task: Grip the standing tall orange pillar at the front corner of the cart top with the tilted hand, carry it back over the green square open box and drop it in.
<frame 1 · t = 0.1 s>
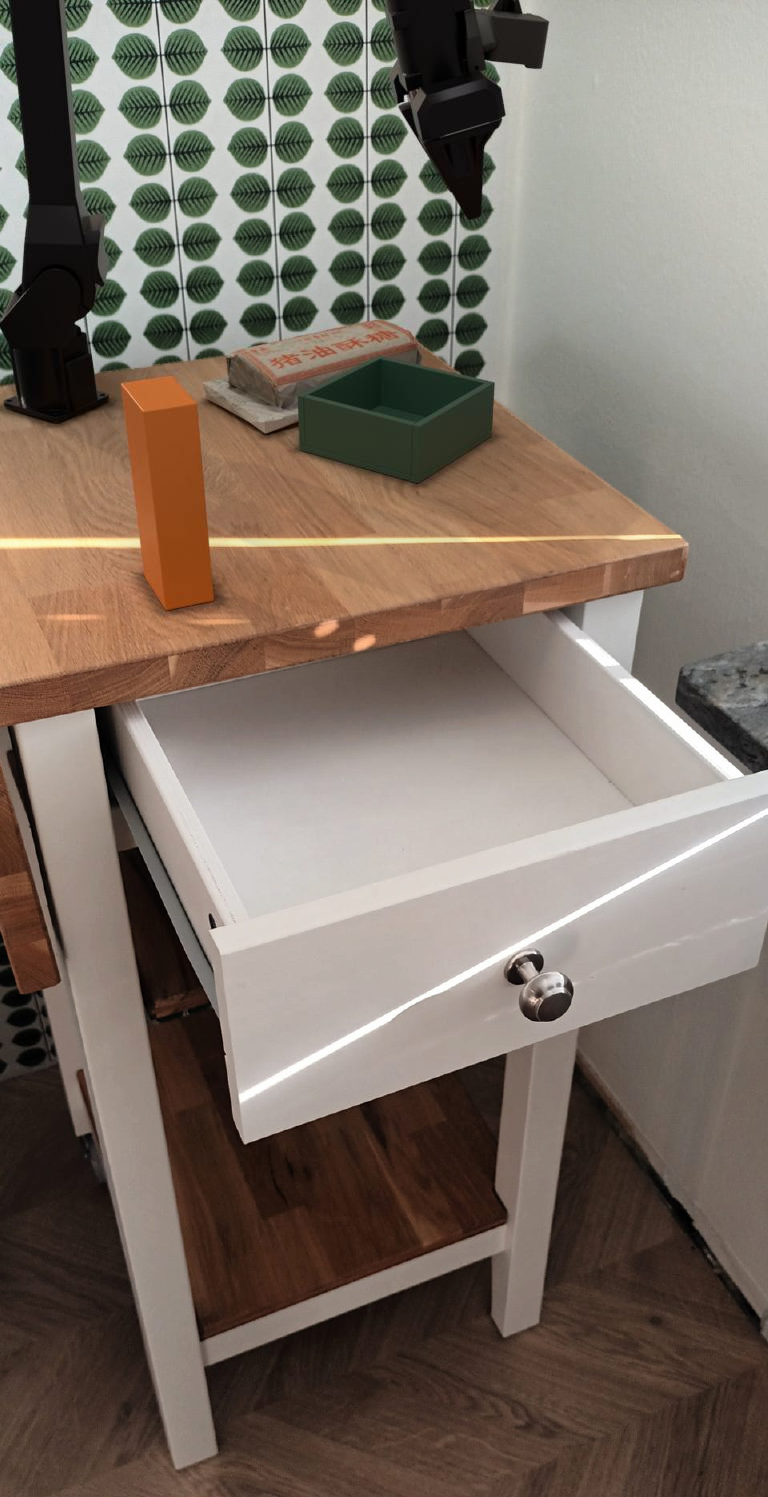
hand: (465, 204, 100), 15 cm above the table, tool pointing down, fingers open, 9 cm apart
green square open box: (396, 443, 100), on the table
packaged product: (321, 398, 109), on the table
tall orange pillar: (178, 588, 81), on the table
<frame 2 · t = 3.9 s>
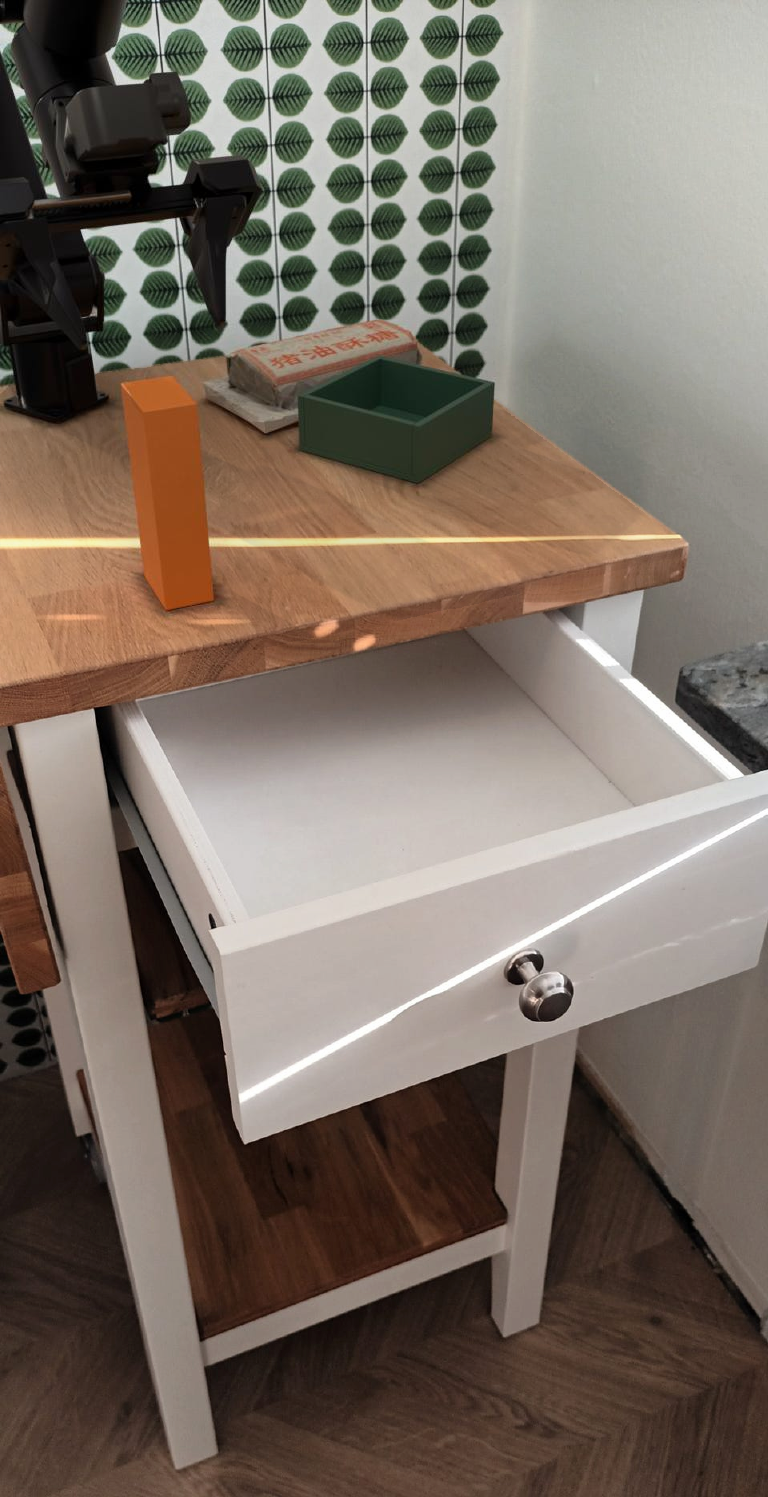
hand: (154, 335, 79), 14 cm above the table, tool tilted 45°, fingers open, 9 cm apart
nothing on the table moved.
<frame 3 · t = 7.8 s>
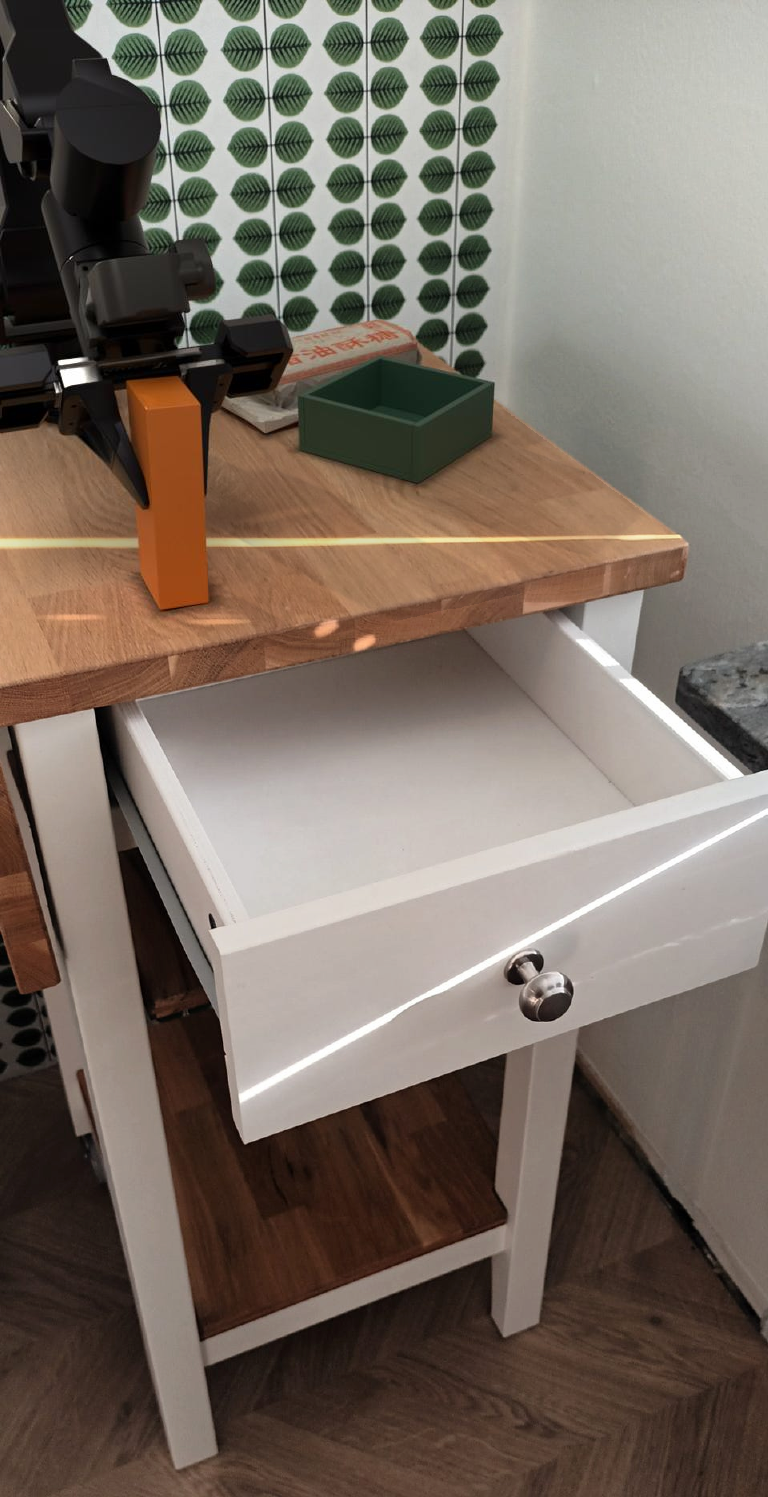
hand: (174, 502, 76), 7 cm above the table, tool tilted 45°, fingers closed on tall orange pillar, 3 cm apart
tall orange pillar: (174, 588, 80), on the table, touching gripper
everything else where it was.
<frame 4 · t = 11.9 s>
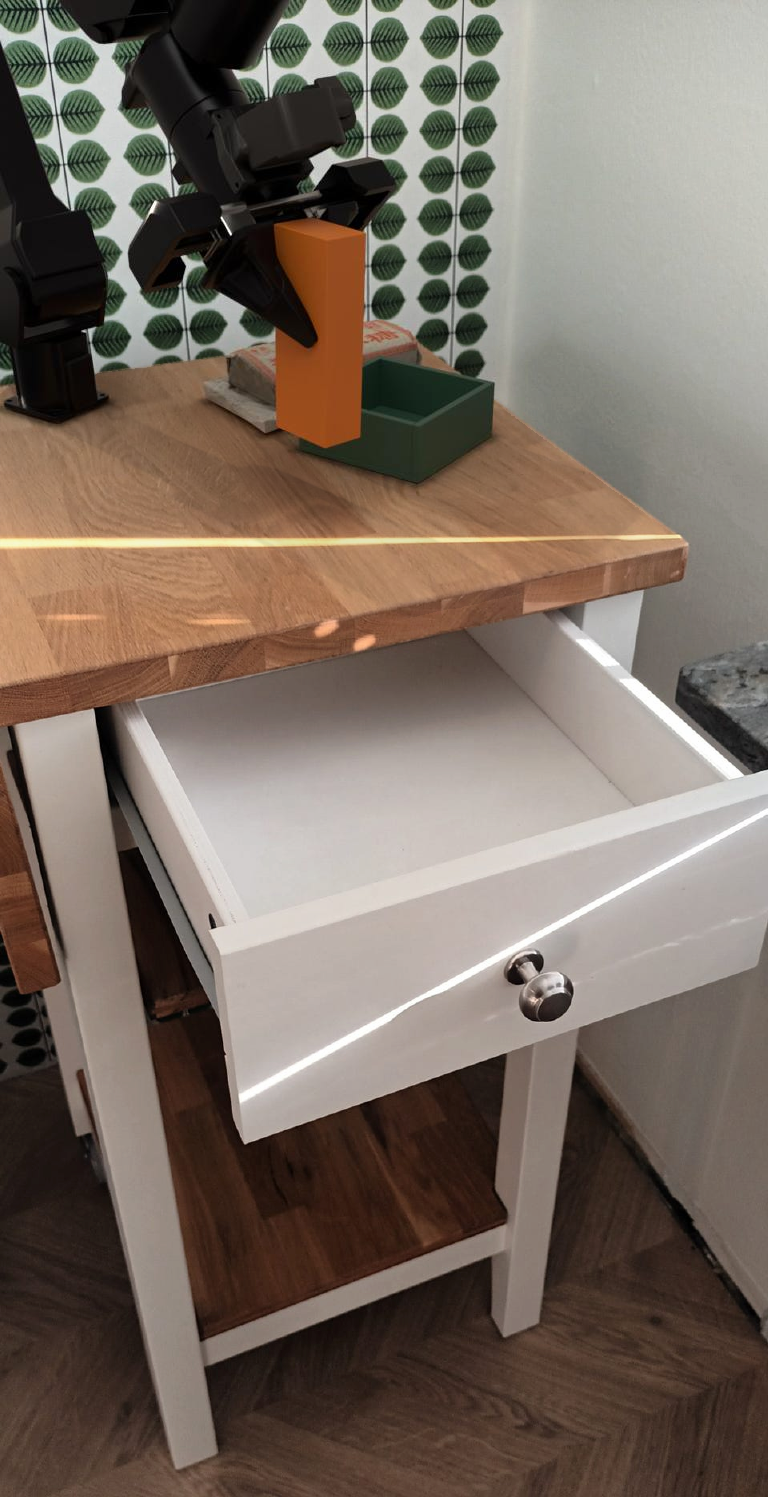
hand: (333, 338, 79), 14 cm above the table, tool tilted 45°, fingers closed on tall orange pillar, 3 cm apart
tall orange pillar: (318, 432, 84), point 7 cm above the table, touching gripper
everything else where it was.
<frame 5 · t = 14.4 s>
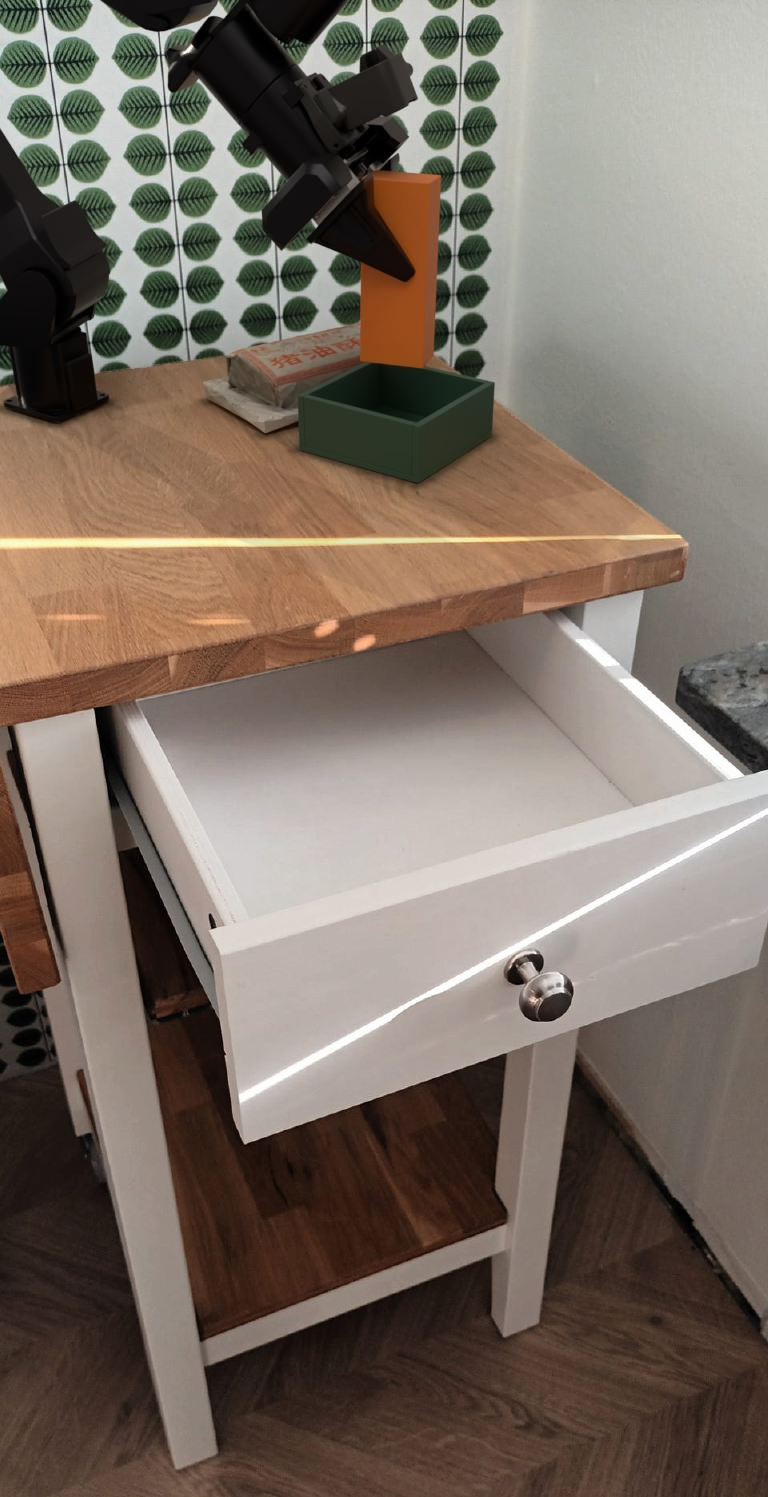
hand: (417, 271, 92), 14 cm above the table, tool tilted 45°, fingers closed on tall orange pillar, 3 cm apart
tall orange pillar: (396, 359, 96), point 7 cm above the table, touching gripper
everything else where it was.
when the fingers open (10 cm above the table, at t = 16.2 s): tall orange pillar drops 2 cm, resting on green square open box.
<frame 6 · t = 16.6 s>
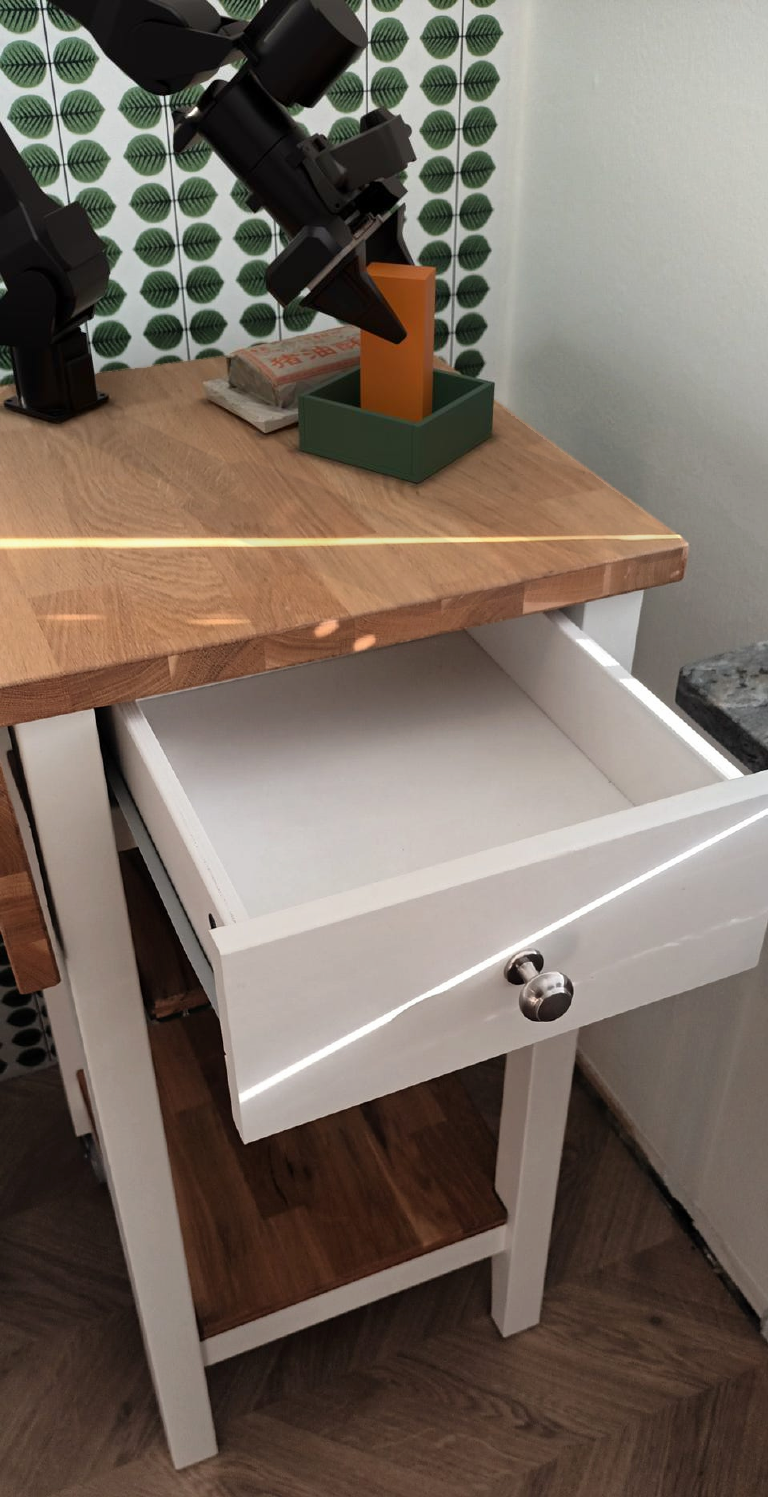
hand: (416, 324, 94), 10 cm above the table, tool tilted 45°, fingers open, 7 cm apart
tall orange pillar: (396, 437, 100), point 1 cm above the table, touching green square open box
everything else where it was.
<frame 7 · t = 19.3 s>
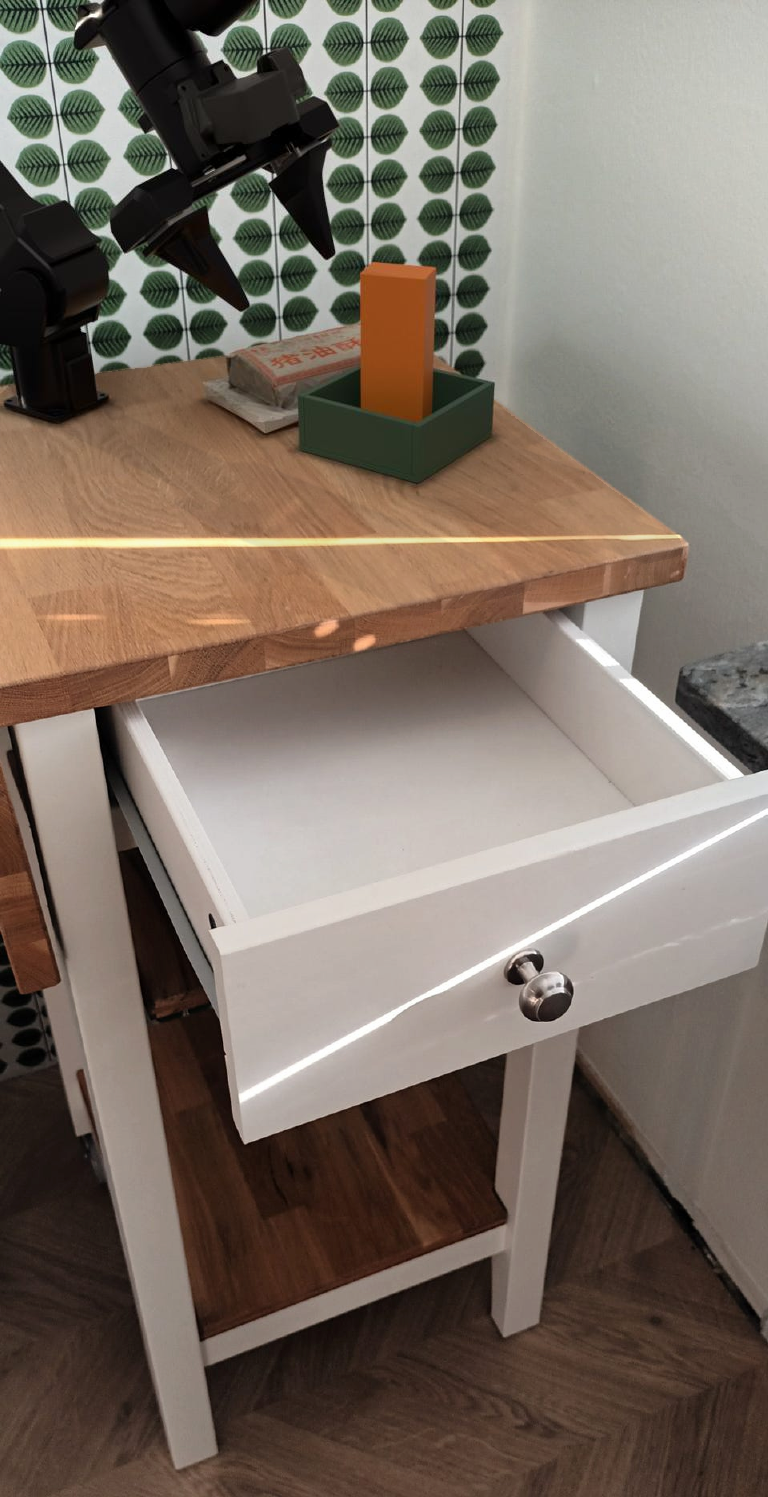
hand: (289, 283, 92), 13 cm above the table, tool tilted 35°, fingers open, 9 cm apart
nothing on the table moved.
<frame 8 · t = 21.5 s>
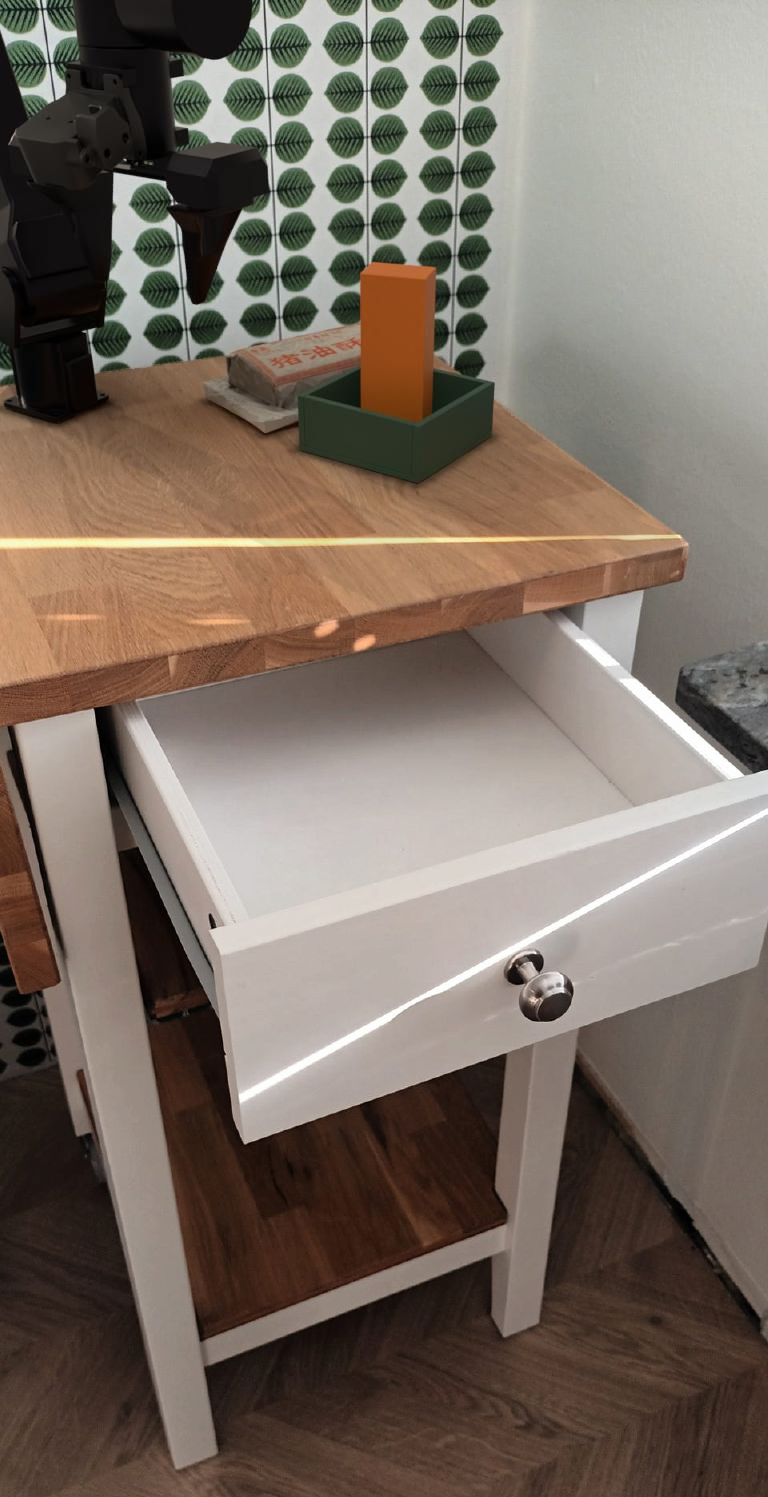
hand: (149, 292, 89), 13 cm above the table, tool pointing down, fingers open, 9 cm apart
nothing on the table moved.
at the end: tall orange pillar inside the target area in the green square open box (0.1 cm from its centre), point 0.5 cm above the green square open box's base; the gripper is holding nothing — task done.
